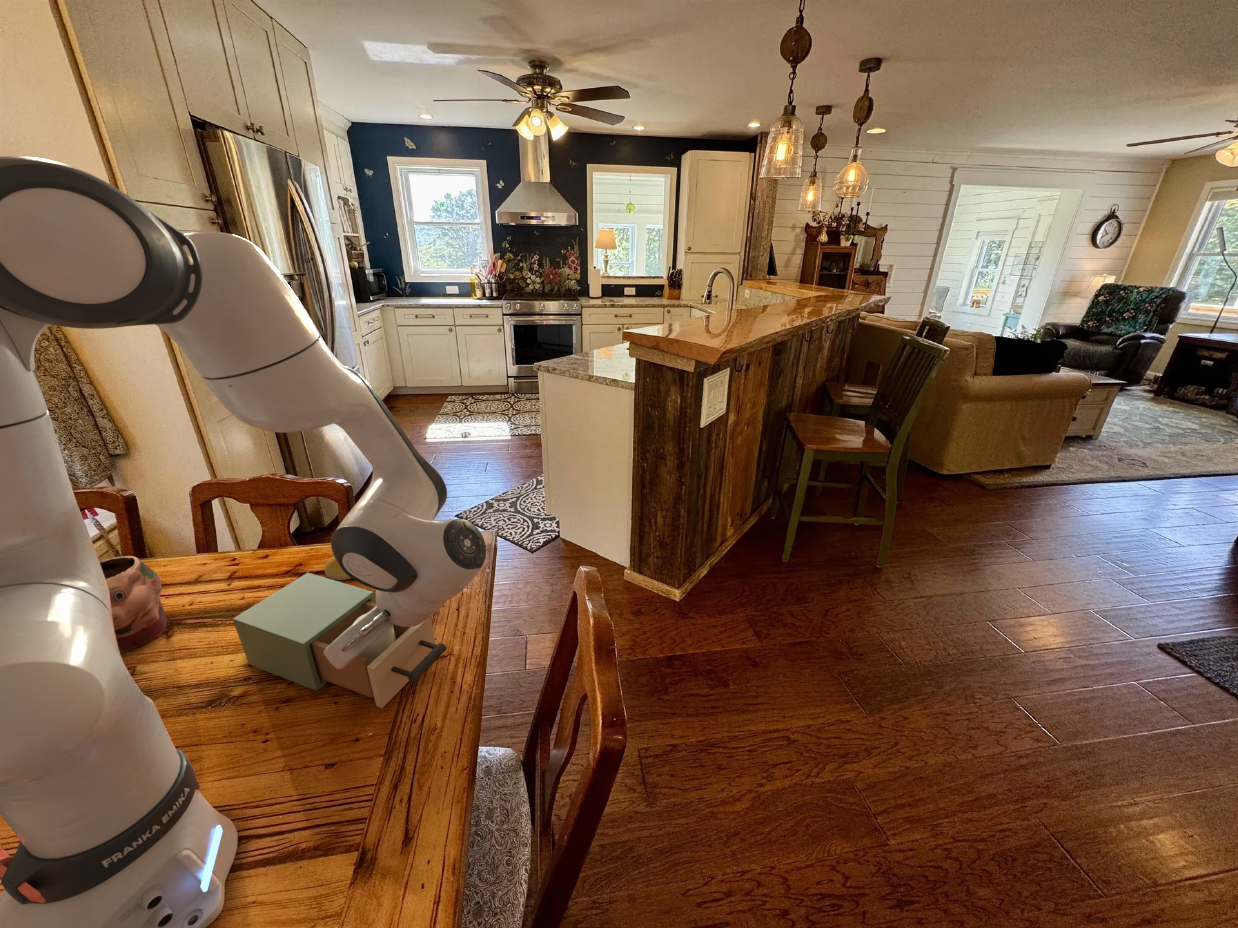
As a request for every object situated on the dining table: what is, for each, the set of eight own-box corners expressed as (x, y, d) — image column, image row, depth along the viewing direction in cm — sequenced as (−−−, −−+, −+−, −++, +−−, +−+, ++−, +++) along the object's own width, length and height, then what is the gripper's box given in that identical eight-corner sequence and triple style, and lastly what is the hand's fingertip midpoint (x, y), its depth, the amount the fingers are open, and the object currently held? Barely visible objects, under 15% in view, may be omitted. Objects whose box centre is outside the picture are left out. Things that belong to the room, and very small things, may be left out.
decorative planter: (78, 623, 91) (46, 560, 86) (164, 593, 100) (139, 533, 94) (90, 680, 79) (53, 610, 74) (187, 639, 88) (160, 575, 82)
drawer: (460, 659, 83) (455, 622, 80) (407, 718, 73) (399, 678, 70) (371, 630, 89) (363, 595, 86) (311, 680, 79) (299, 642, 76)
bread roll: (324, 567, 108) (320, 552, 107) (368, 555, 113) (365, 540, 112) (328, 587, 102) (324, 571, 101) (375, 573, 107) (371, 557, 105)
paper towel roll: (380, 678, 77) (371, 637, 74) (353, 668, 79) (343, 628, 76) (406, 653, 82) (399, 614, 79) (380, 644, 84) (372, 606, 81)
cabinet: (382, 634, 90) (373, 591, 86) (317, 691, 78) (303, 644, 74) (319, 613, 95) (307, 572, 91) (248, 664, 83) (232, 618, 79)
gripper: (369, 659, 63) (328, 693, 70) (467, 571, 80) (427, 605, 87) (335, 622, 62) (297, 660, 69) (441, 543, 80) (403, 579, 87)
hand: (370, 629), depth 78 cm, fingers open, 6 cm apart
